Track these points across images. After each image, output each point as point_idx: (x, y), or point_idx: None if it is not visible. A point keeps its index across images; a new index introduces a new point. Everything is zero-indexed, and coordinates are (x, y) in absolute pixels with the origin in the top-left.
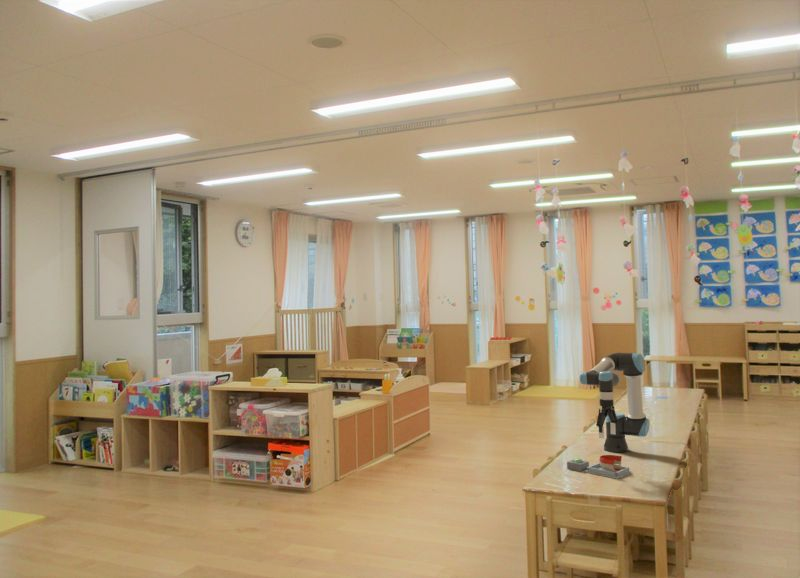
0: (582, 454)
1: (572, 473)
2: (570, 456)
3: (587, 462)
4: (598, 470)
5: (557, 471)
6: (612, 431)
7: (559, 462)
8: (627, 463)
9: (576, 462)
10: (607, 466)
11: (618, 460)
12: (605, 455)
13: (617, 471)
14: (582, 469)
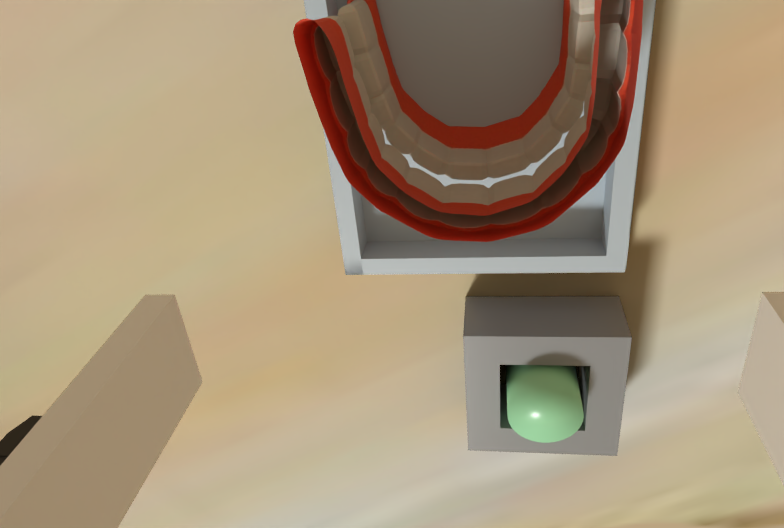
0: (149, 491)
1: (732, 319)
2: (262, 520)
3: (491, 334)
4: (636, 137)
5: (741, 426)
6: (163, 388)
7: (466, 510)
8: (31, 136)
9: (580, 396)
10: (621, 50)
11: (346, 48)
12: (404, 222)
13: (424, 5)
14: (591, 304)
